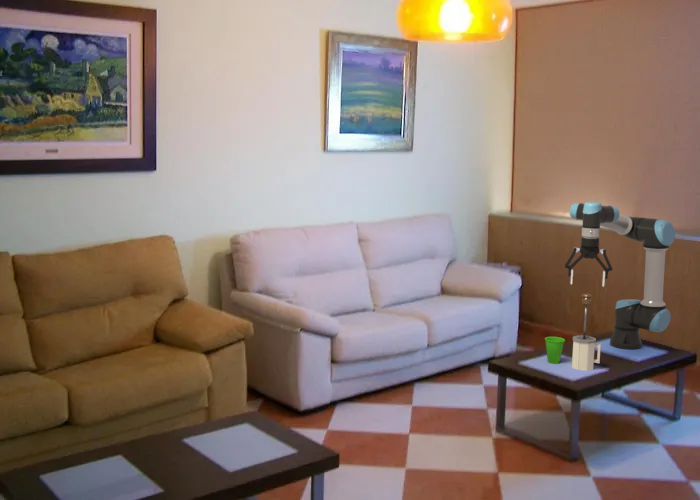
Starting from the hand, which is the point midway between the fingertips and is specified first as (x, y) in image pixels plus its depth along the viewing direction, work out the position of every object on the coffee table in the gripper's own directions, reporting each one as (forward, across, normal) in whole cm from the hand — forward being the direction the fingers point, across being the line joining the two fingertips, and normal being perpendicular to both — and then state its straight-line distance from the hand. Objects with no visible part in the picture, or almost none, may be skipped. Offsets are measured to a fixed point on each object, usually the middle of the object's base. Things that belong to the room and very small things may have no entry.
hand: (587, 284), depth 362 cm
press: (+38, +1, 0) cm, 38 cm away
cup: (+38, -12, +5) cm, 40 cm away
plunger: (+26, 0, 0) cm, 26 cm away
